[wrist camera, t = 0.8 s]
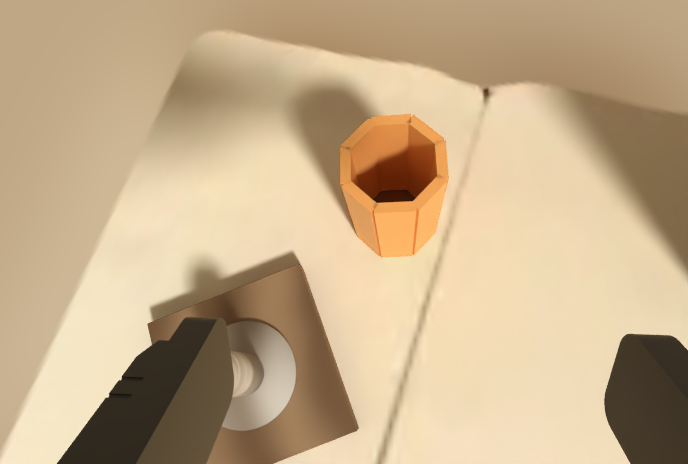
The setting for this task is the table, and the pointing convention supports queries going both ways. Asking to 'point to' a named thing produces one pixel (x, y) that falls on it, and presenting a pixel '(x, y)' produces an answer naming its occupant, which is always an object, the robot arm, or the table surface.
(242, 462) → the spindle
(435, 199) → the collar
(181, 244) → the table surface
